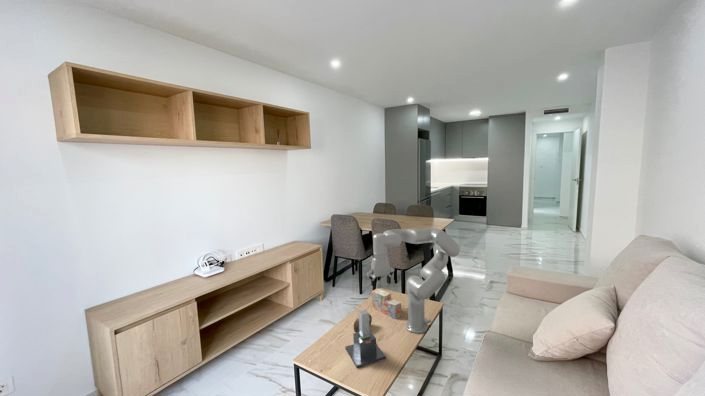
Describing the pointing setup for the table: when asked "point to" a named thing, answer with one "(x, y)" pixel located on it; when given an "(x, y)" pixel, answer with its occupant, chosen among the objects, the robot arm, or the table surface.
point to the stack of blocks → (386, 303)
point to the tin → (356, 324)
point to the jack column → (364, 324)
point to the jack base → (364, 351)
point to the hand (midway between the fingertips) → (381, 284)
